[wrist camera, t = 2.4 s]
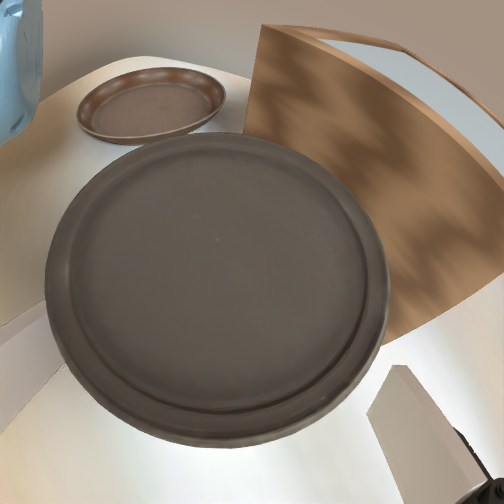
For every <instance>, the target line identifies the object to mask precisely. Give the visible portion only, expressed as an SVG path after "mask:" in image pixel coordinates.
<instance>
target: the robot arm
mask: <svg viewBox="0 0 504 504" xmlns="http://www.w3.org/2000/svg"><path fill="white" fill-rule="evenodd" d="M42 58H43V12H42V10H41V0H0V147H1V146H2V145H4V144H6V143H7V142H9V141H11V140H12V139H14V138H16V137H18V136H19V135H21V134H22V133H23V132H24V131H25V130H26V129H27V128H28V126H29V125H30V123H31V121H32V120H33V117H34V115H35V112H36V109H37V106H38V100H39V95H40V88H41V76H42ZM64 363H65V361H64V359H63V357H62V355H61V353H60V351H59V349H58V347H57V344H56V342H55V340H54V337H53V334H52V331H51V327H50V323H49V319H48V314H47V309H46V301H45V299H44V300H43V301H41V302H39V303H38V304H36V305H35V306H33V307H31V308H30V309H28V310H27V311H25V312H24V313H22V314H20V315H19V316H17V317H16V318H14V319H13V320H11V321H10V322H8V323H7V324H5V325H4V326H2V327H1V328H0V434H1V433H2V432H3V431H4V429H5V428H6V427H7V426H8V425H9V424H10V422H11V421H12V420H13V419H14V418H15V417H16V415H17V414H18V413H19V412H20V411H21V410H22V409H23V408H24V406H25V405H26V404H27V403H28V402H29V401H30V400H31V399H32V397H33V396H34V395H35V394H36V393H37V392H38V391H39V390H40V389H41V388H42V387H43V385H44V384H45V383H46V382H47V381H48V380H49V379H50V378H51V377H52V376H53V375H54V374H55V373H56V372H57V371H58V369H59V368H60V367H61V366H62V365H63V364H64ZM366 414H367V416H368V419H369V421H370V423H371V425H372V428H373V430H374V432H375V434H376V437H377V439H378V441H379V444H380V446H381V448H382V451H383V453H384V455H385V458H386V460H387V462H388V465H389V467H390V469H391V472H392V474H393V477H394V479H395V481H396V484H397V486H398V489H399V491H400V494H401V496H402V499H403V501H404V504H504V478H497V479H495V480H493V478H492V477H491V476H490V474H489V473H488V471H487V470H486V468H485V467H484V465H483V464H482V462H481V461H480V459H479V458H478V456H477V455H476V453H474V450H473V449H472V447H471V446H469V443H468V442H467V440H466V439H465V437H464V436H463V435H462V434H461V433H460V432H459V431H458V430H456V429H455V428H454V427H452V426H451V424H450V423H449V421H448V420H447V419H446V417H445V416H444V414H443V413H442V412H441V410H440V409H439V408H438V406H437V405H436V403H435V402H434V401H433V399H432V398H431V397H430V395H429V394H428V393H427V391H426V390H425V389H424V387H423V386H422V385H421V383H420V382H419V381H418V379H417V378H416V377H415V376H414V374H413V373H412V372H411V370H410V369H409V368H408V366H405V365H392V367H391V369H390V371H389V373H388V375H387V377H386V379H385V381H384V383H383V385H382V387H381V389H380V391H379V392H378V394H377V396H376V398H375V400H374V401H373V403H372V405H371V407H370V408H369V410H368V412H367V413H366Z"/></svg>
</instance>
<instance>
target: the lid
mask: <svg viewBox="0 0 504 504" xmlns="http://www.w3.org/2000/svg"><path fill="white" fill-rule="evenodd" d="M318 40H320V41H322V42H324V43H326V44H329V45H331V46H333V47H335V48H337V49H339V50H341V51H343V52H345V53H347V54H349V55H350V56H352V57H354V58H356V59H358V60H360V61H361V62H363V63H365V64H367V65H368V66H370V67H372V68H374V69H375V70H377V71H379V72H380V73H382V74H383V75H385V76H387V77H388V78H390V79H391V80H393V81H394V82H396V83H397V84H399V85H400V86H402V87H403V88H405V89H406V90H408V91H409V92H410V93H412V94H413V95H415V96H416V97H417V98H419V99H420V100H421V101H423V102H424V103H425V104H427V105H428V106H429V107H431V108H432V109H433V110H434V111H436V112H437V113H438V114H439V115H440V116H442V117H443V118H444V119H445V120H446V121H448V122H449V123H450V124H451V125H452V126H453V127H455V128H456V129H457V130H458V131H459V132H460V133H461V134H462V135H463V136H464V137H466V138H467V139H468V140H469V141H470V142H471V143H472V144H473V145H474V146H475V147H476V148H477V149H478V150H479V151H480V152H481V153H482V154H483V155H484V156H485V157H486V158H487V159H488V160H489V161H490V163H491V164H492V165H493V166H494V167H495V168H496V169H497V170H498V171H499V172H500V174H501V175H502V176H503V177H504V130H503V129H502V128H501V127H500V126H499V125H498V124H497V123H496V122H495V121H494V120H493V119H492V118H491V117H490V116H489V115H488V114H487V113H486V112H485V111H484V110H482V109H481V108H480V107H479V106H478V105H477V104H476V103H474V102H473V101H472V100H471V99H470V98H468V97H467V96H466V95H465V94H463V93H462V92H461V91H460V90H458V89H457V88H456V87H455V86H453V85H452V84H451V83H449V82H448V81H447V80H445V79H444V78H442V77H441V76H440V75H438V74H437V73H435V72H434V71H432V70H431V69H429V68H428V67H426V66H425V65H423V64H422V63H420V62H419V61H417V60H415V59H414V58H412V57H411V56H409V55H407V54H405V53H403V52H399V51H395V50H390V49H385V48H381V47H376V46H370V45H364V44H358V43H351V42H344V41H336V40H326V39H318Z"/></svg>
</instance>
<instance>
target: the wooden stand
mask: <svg viewBox="0 0 504 504" xmlns="http://www.w3.org/2000/svg"><path fill="white" fill-rule="evenodd" d="M318 39H326V40H336V41H344V42H351V43H358V44H364V45H370V46H376V47H381V48H385V49H390V50H395V51H399V52H403V53H405V54H407V55H409V56H411V57H412V58H414V59H415V60H417V61H419V62H420V63H422V64H423V65H425V66H426V67H428V68H429V69H431V70H432V71H434V72H435V73H437V74H438V75H440V76H441V77H442V78H444V79H445V80H447V81H448V82H449V83H451V84H452V85H453V86H455V87H456V88H457V89H458V90H460V91H461V92H462V93H463V94H465V95H466V96H467V97H468V98H470V99H471V100H472V101H473V102H474V103H476V104H477V105H478V106H479V107H480V108H481V109H482V110H484V111H485V112H486V113H487V114H488V115H489V116H490V117H491V118H492V119H493V120H494V121H495V122H496V123H497V124H498V125H499V126H500V127H501V128H502V129H503V130H504V123H503V122H502V121H501V120H500V119H498V117H496V116H495V115H494V114H493V113H492V112H491V111H490V110H489V109H488V108H487V107H486V106H484V105H483V104H482V103H481V102H480V101H479V100H478V99H476V98H475V97H474V96H473V95H472V94H470V93H469V92H468V91H467V90H465V89H464V88H463V87H462V86H460V85H459V84H458V83H456V82H455V81H454V80H452V79H451V78H450V77H448V76H447V75H446V74H444V73H443V72H441V71H440V70H438V69H437V68H435V67H434V66H432V65H431V64H429V63H428V62H426V61H424V60H423V59H421V58H420V57H418V56H417V55H415V54H413V53H412V52H410V51H408V50H407V49H405V48H403V47H401V46H400V45H398V44H396V43H392V42H389V41H385V40H381V39H377V38H373V37H368V36H363V35H358V34H353V33H348V32H342V31H336V30H329V29H322V28H313V27H303V26H290V25H265V24H262V27H261V31H260V37H259V42H258V48H257V53H256V59H255V65H254V70H253V76H252V82H251V88H250V94H249V100H248V106H247V112H246V118H245V125H244V131H243V135H249V136H253V137H258V138H262V139H265V140H268V141H272V142H275V143H277V144H280V145H283V146H285V147H288V148H290V149H292V150H295V151H297V152H299V153H301V154H303V155H305V156H307V157H308V158H310V159H311V160H313V161H315V162H316V163H318V164H320V165H321V166H322V167H324V168H325V169H326V170H327V171H329V172H330V173H331V174H333V175H334V176H335V177H336V178H337V179H338V180H340V181H341V182H342V183H343V184H344V185H345V186H346V187H347V188H348V190H349V191H350V192H351V193H352V194H353V195H354V196H355V198H356V199H357V200H358V202H359V203H360V204H361V206H362V207H363V209H364V210H365V211H366V213H367V214H368V216H369V217H370V219H371V221H372V223H373V225H374V227H375V229H376V231H377V233H378V235H379V237H380V240H381V242H382V245H383V248H384V251H385V254H386V258H387V262H388V267H389V274H390V284H391V302H390V314H389V319H388V324H387V329H386V333H385V336H384V339H383V341H382V344H381V346H383V345H385V344H387V343H389V342H391V341H393V340H395V339H397V338H399V337H401V336H403V335H405V334H407V333H409V332H410V331H412V330H414V329H416V328H418V327H420V326H421V325H423V324H425V323H427V322H429V321H430V320H432V319H434V318H436V317H437V316H439V315H441V314H442V313H444V312H446V311H447V310H449V309H451V308H452V307H454V306H455V305H457V304H459V303H460V302H462V301H463V300H465V299H466V298H468V297H469V296H471V295H472V294H474V293H475V292H477V291H478V290H480V289H481V288H483V287H484V286H485V285H487V284H488V283H490V282H491V281H492V280H494V279H495V278H496V277H498V276H499V275H500V274H502V273H503V272H504V177H503V176H502V175H501V174H500V172H499V171H498V170H497V169H496V168H495V167H494V166H493V165H492V164H491V163H490V161H489V160H488V159H487V158H486V157H485V156H484V155H483V154H482V153H481V152H480V151H479V150H478V149H477V148H476V147H475V146H474V145H473V144H472V143H471V142H470V141H469V140H468V139H467V138H466V137H464V136H463V135H462V134H461V133H460V132H459V131H458V130H457V129H456V128H455V127H453V126H452V125H451V124H450V123H449V122H448V121H446V120H445V119H444V118H443V117H442V116H440V115H439V114H438V113H437V112H436V111H434V110H433V109H432V108H431V107H429V106H428V105H427V104H425V103H424V102H423V101H421V100H420V99H419V98H417V97H416V96H415V95H413V94H412V93H410V92H409V91H408V90H406V89H405V88H403V87H402V86H400V85H399V84H397V83H396V82H394V81H393V80H391V79H390V78H388V77H387V76H385V75H383V74H382V73H380V72H379V71H377V70H375V69H374V68H372V67H370V66H368V65H367V64H365V63H363V62H361V61H360V60H358V59H356V58H354V57H352V56H350V55H349V54H347V53H345V52H343V51H341V50H339V49H337V48H335V47H333V46H331V45H329V44H326V43H324V42H322V41H320V40H318ZM381 346H380V347H381Z"/></svg>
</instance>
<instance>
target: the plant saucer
mask: <svg viewBox="0 0 504 504" xmlns="http://www.w3.org/2000/svg"><path fill="white" fill-rule="evenodd" d="M225 99H226V92H225V89H224V87H223V85H222V84H221V83H220V82H219V81H218V80H216V79H215V78H213V77H211V76H210V75H208V74H205V73H202V72H199V71H196V70H192V69H186V68H177V67H158V68H150V69H142V70H137V71H133V72H129V73H126V74H123V75H120V76H117V77H115V78H112V79H110V80H108V81H106V82H104V83H103V84H101V85H99V86H98V87H96V88H95V89H93V90H92V91H91V92H90V93H89V94H87V95H86V97H85V98H84V99H83V100H82V101H81V103H80V104H79V107H78V109H77V114H76V118H77V121H78V123H79V125H80V126H81V127H82V128H83V129H84V130H85V131H87V132H88V133H89V134H91V135H93V136H95V137H97V138H99V139H102V140H104V141H108V142H111V143H116V144H123V145H145V144H149V143H152V142H155V141H158V140H162V139H166V138H170V137H175V136H179V135H185V134H187V133H189V132H191V131H193V130H195V129H197V128H198V127H200V126H201V125H203V124H204V123H206V122H207V121H208V120H209V119H211V118H212V117H213V116H214V115H215V114H216V113H217V112H218V110H219V109H220V108H221V107H222V105H223V104H224V102H225Z"/></svg>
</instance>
